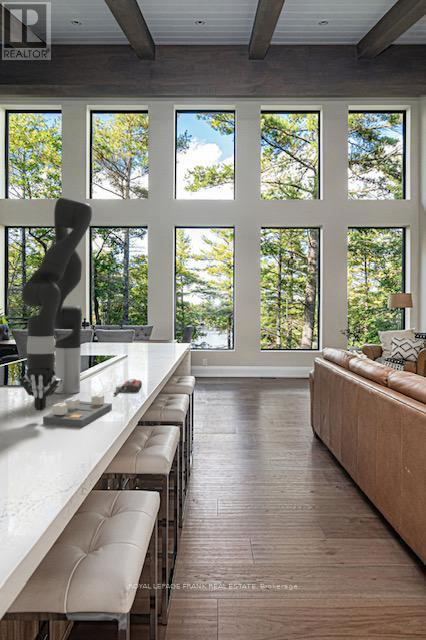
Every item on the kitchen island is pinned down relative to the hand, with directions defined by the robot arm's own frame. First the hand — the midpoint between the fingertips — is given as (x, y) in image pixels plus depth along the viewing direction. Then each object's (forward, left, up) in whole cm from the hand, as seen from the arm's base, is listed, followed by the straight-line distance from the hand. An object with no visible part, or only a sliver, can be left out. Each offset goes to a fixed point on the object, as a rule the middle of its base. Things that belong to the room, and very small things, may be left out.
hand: (40, 409), depth 123 cm
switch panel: (+9, +7, -3) cm, 12 cm away
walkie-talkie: (+9, +46, -4) cm, 47 cm away
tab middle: (+6, +7, 0) cm, 10 cm away
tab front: (+6, 0, -1) cm, 6 cm away
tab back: (+11, +14, -1) cm, 18 cm away
